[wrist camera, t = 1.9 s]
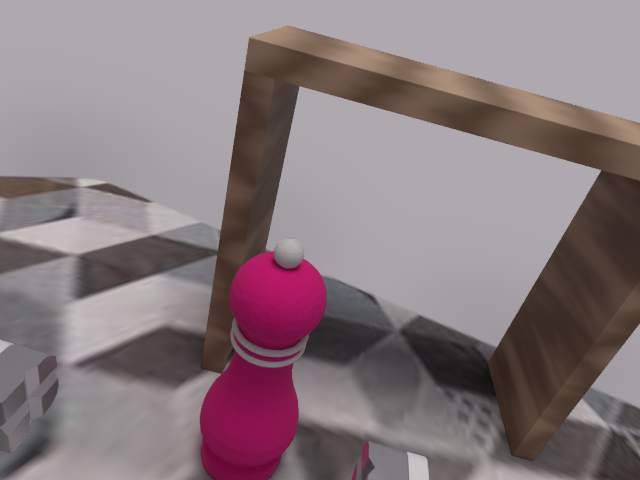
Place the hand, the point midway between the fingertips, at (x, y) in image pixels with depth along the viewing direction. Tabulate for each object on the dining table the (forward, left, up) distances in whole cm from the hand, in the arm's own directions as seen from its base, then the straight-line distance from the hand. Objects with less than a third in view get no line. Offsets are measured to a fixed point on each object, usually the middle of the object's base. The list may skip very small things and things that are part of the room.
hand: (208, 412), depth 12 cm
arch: (+10, +28, -23) cm, 38 cm away
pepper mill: (0, +15, -23) cm, 28 cm away
